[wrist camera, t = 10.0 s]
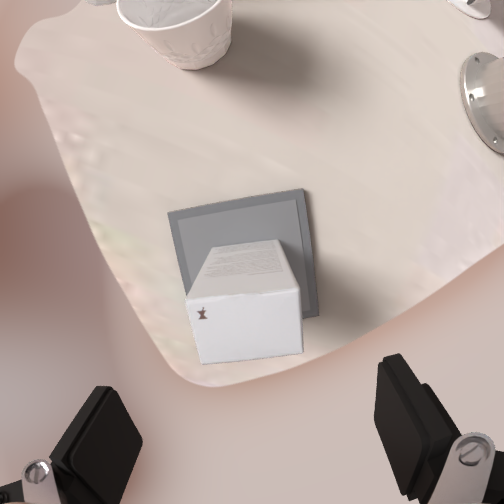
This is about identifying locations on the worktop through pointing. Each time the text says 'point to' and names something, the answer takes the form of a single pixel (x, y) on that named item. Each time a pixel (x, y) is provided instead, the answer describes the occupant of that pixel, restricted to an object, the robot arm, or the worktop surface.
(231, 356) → the skincare box
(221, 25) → the white cup
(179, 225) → the tray
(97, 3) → the french press
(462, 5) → the panda figurine
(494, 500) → the robot arm
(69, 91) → the worktop surface
